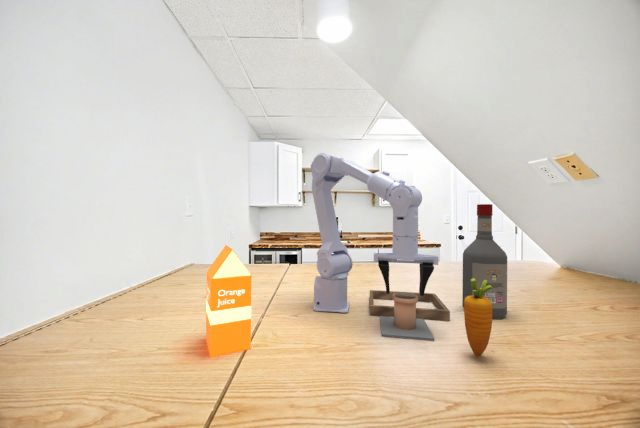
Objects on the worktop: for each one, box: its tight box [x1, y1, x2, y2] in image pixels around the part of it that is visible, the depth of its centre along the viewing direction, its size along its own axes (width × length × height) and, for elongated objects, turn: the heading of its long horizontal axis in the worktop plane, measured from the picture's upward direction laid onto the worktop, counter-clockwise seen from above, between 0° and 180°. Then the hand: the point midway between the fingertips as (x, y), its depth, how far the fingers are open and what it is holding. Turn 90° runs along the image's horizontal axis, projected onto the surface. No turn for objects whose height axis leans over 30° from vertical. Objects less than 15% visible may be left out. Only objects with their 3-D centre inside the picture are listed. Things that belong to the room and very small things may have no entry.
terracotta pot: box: [392, 293, 419, 330], centre depth 66 cm, size 6×6×7 cm
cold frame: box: [369, 289, 451, 322], centre depth 79 cm, size 20×16×2 cm
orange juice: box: [205, 244, 252, 358], centre depth 57 cm, size 8×9×20 cm
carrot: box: [463, 278, 493, 358], centre depth 52 cm, size 5×5×15 cm
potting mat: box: [379, 316, 435, 342], centre depth 65 cm, size 11×11×1 cm
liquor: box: [461, 203, 508, 320], centre depth 76 cm, size 9×9×30 cm
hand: (404, 293), depth 65 cm, fingers open, 7 cm apart
